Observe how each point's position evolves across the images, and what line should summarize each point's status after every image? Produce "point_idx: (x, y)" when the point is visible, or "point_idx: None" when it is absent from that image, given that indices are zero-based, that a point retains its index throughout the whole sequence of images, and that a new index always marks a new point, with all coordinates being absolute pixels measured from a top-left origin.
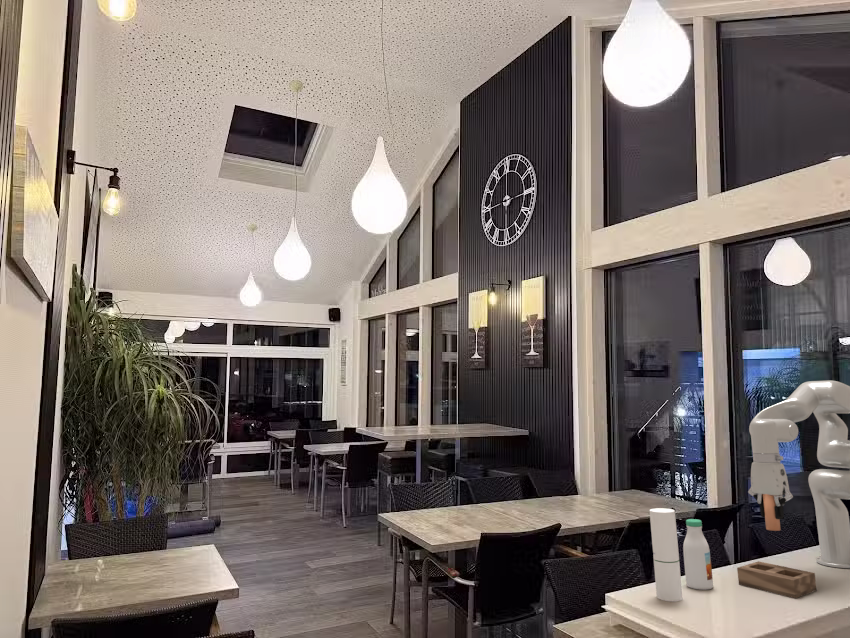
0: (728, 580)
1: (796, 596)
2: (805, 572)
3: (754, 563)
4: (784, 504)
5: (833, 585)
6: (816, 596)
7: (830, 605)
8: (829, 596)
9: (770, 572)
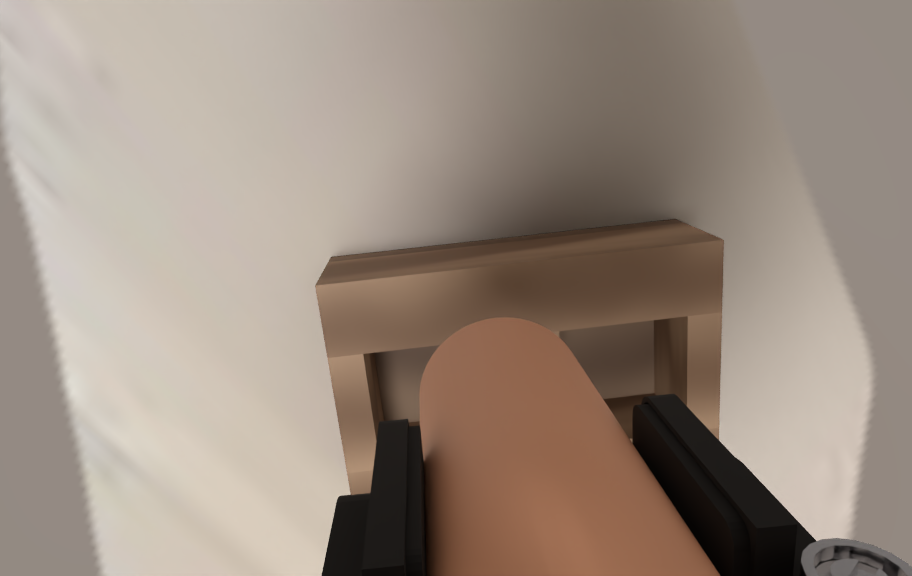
0: (279, 457)
1: None
2: (679, 278)
3: (341, 360)
4: (894, 558)
5: (686, 25)
6: (724, 318)
7: (829, 390)
8: (767, 261)
9: None
